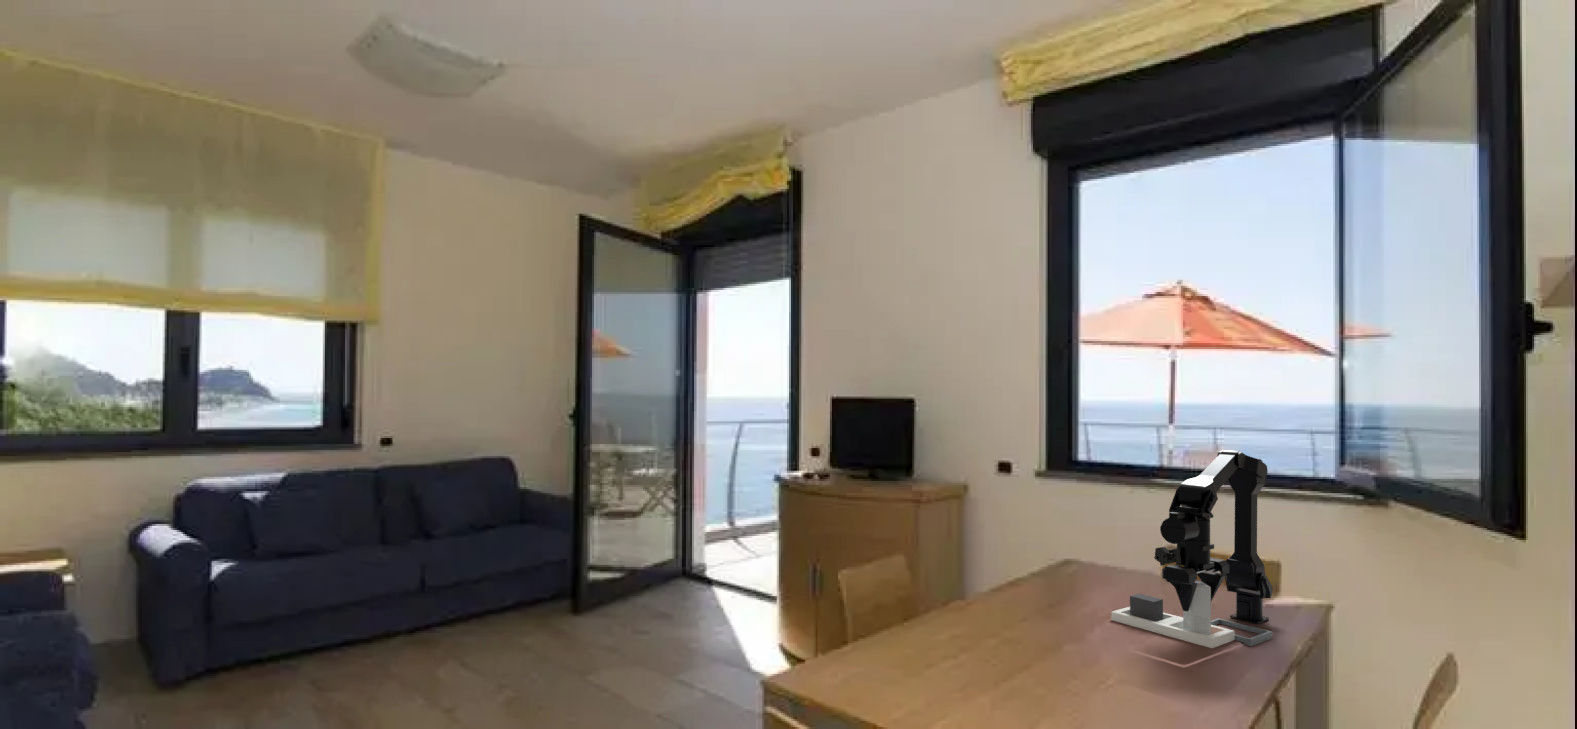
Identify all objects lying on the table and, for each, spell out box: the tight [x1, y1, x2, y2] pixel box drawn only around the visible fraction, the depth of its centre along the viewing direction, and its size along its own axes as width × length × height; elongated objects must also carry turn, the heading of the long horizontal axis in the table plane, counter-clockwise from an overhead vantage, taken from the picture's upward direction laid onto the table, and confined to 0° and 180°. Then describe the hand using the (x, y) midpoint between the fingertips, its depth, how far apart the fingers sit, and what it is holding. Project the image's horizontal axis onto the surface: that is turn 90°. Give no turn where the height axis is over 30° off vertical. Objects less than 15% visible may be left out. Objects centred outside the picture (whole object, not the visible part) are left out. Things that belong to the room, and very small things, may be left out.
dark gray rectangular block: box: [1129, 593, 1164, 622], centre depth 187 cm, size 4×6×6 cm, turn 35°
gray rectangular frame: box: [1211, 617, 1273, 647], centre depth 180 cm, size 10×12×2 cm
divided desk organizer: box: [1110, 606, 1236, 649], centre depth 182 cm, size 10×24×2 cm, turn 35°
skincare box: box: [1182, 580, 1212, 636], centre depth 177 cm, size 6×4×12 cm
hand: (1196, 607), depth 177 cm, fingers open, 9 cm apart
